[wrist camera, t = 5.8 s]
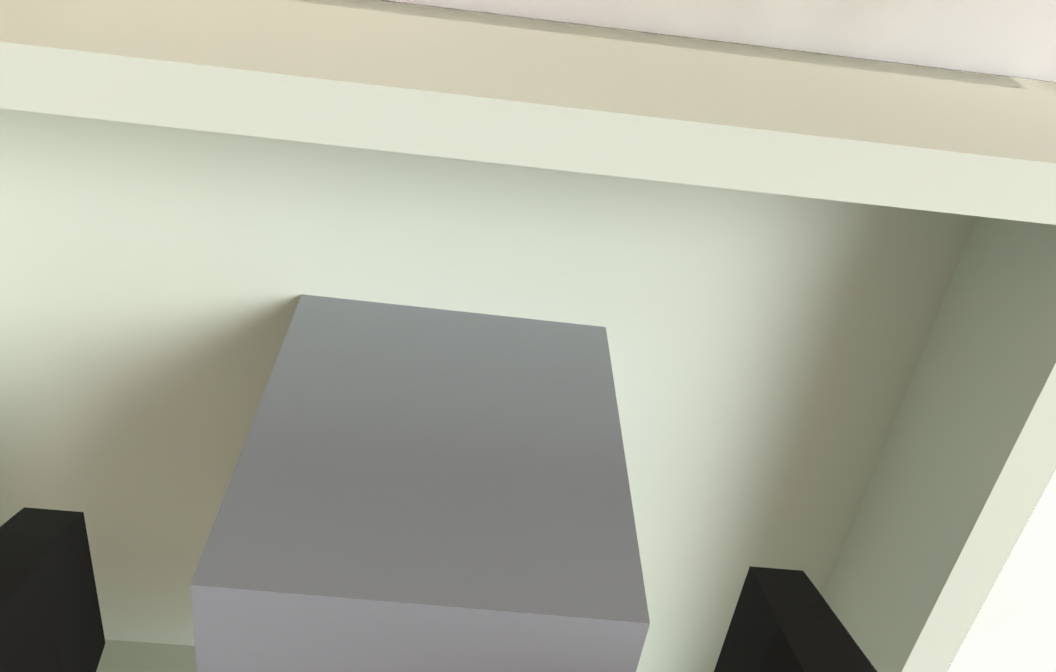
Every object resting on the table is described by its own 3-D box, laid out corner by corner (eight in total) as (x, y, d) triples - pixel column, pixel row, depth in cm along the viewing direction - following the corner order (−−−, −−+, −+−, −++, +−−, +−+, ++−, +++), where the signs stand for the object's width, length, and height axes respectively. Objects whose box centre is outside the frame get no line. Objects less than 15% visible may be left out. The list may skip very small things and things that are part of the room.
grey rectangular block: (561, 545, 15) (578, 870, 11) (300, 522, 14) (210, 847, 10) (605, 326, 13) (649, 624, 8) (301, 294, 12) (190, 585, 8)
